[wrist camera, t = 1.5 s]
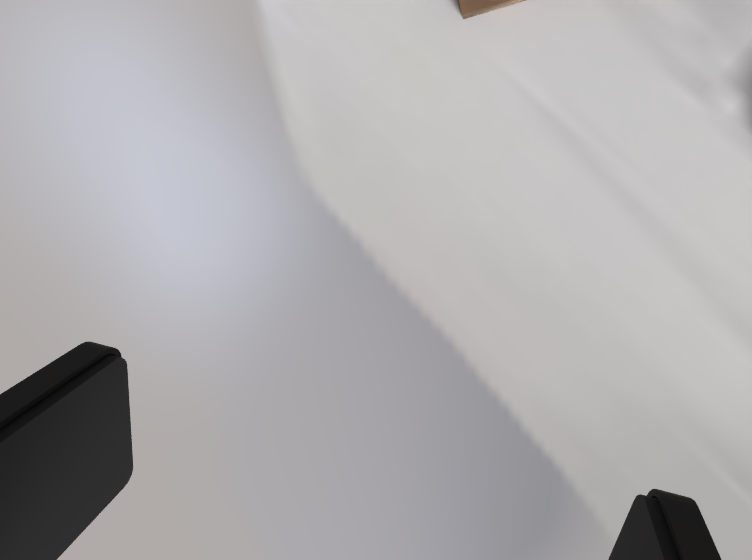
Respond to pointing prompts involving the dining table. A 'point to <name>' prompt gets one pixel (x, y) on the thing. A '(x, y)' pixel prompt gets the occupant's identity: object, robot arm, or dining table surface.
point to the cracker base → (482, 6)
